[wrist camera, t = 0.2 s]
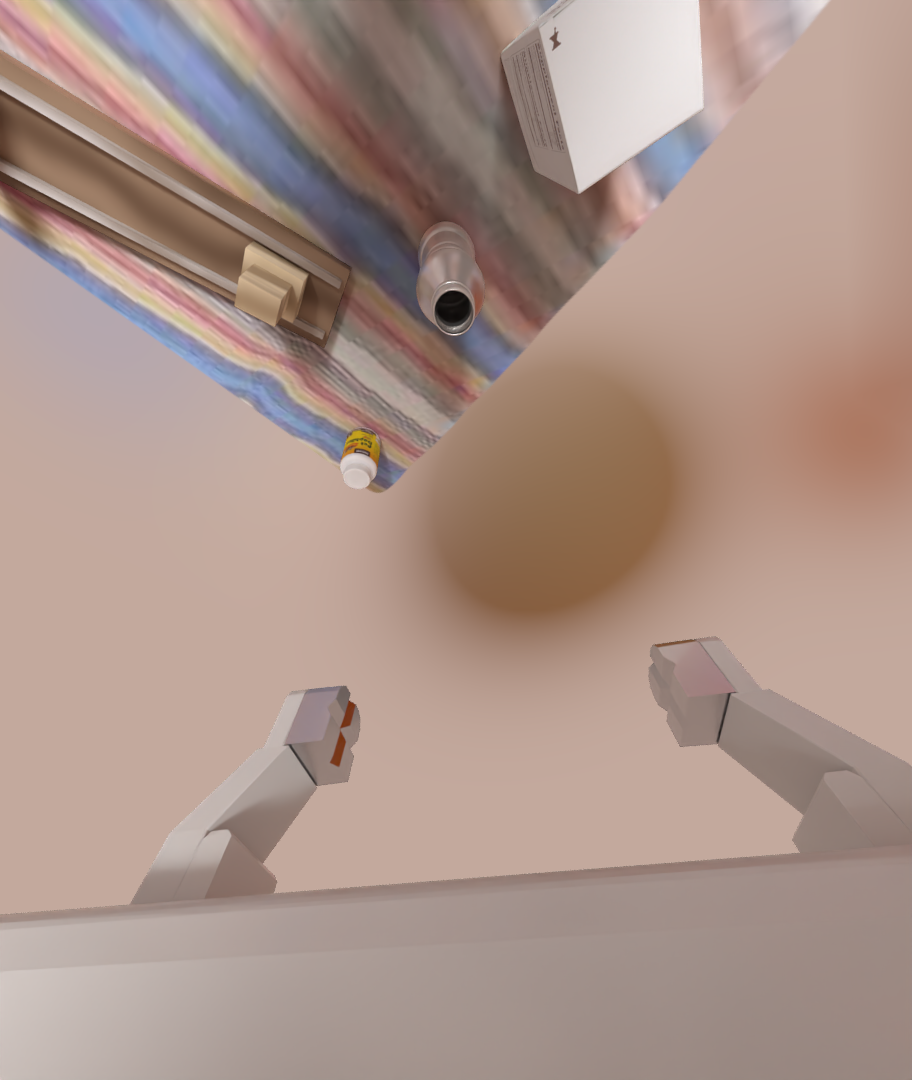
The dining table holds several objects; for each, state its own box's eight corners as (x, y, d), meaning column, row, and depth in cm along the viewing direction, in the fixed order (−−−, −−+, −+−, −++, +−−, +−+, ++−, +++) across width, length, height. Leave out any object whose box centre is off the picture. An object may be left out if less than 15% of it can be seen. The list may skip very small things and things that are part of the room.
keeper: (253, 240, 43) (229, 260, 37) (309, 273, 45) (293, 295, 40) (245, 286, 46) (222, 310, 40) (297, 314, 48) (282, 340, 43)
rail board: (-62, 11, 32) (-138, -4, 27) (351, 267, 46) (344, 284, 42) (-29, 158, 38) (-87, 165, 34) (326, 343, 52) (317, 364, 48)
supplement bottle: (378, 424, 62) (373, 464, 55) (383, 453, 66) (378, 493, 60) (343, 425, 62) (333, 465, 55) (350, 454, 66) (341, 494, 59)
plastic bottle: (436, 296, 49) (440, 367, 36) (407, 237, 44) (399, 294, 31) (482, 267, 47) (505, 331, 34) (456, 202, 42) (471, 247, 29)
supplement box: (533, 175, 41) (573, 201, 30) (497, 53, 35) (530, 29, 24) (625, 108, 38) (709, 110, 27) (603, -39, 32) (700, -117, 20)
